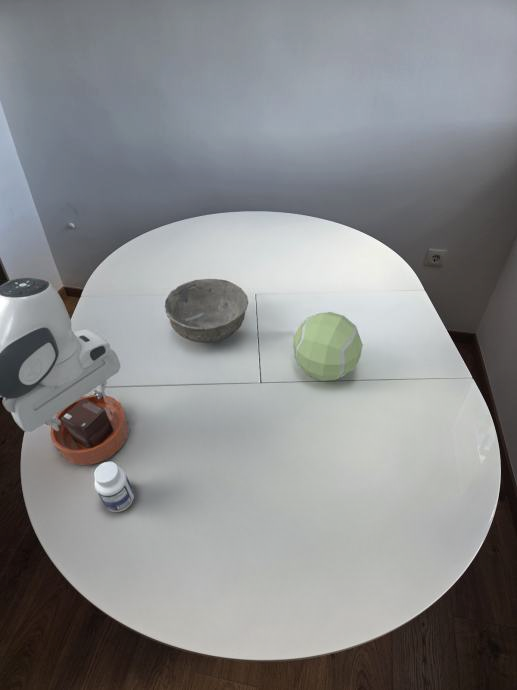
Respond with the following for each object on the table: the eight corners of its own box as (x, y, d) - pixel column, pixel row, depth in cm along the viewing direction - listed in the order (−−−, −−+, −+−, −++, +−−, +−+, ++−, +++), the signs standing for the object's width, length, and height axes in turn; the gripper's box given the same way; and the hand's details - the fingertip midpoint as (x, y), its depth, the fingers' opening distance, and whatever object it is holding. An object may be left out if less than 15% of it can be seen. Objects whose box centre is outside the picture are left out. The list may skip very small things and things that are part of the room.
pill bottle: (109, 485, 82) (95, 457, 75) (137, 485, 81) (126, 457, 75) (100, 512, 78) (85, 485, 71) (130, 513, 78) (117, 486, 71)
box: (114, 430, 90) (105, 408, 85) (93, 452, 86) (82, 430, 81) (94, 418, 92) (84, 396, 87) (72, 439, 88) (60, 417, 83)
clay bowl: (85, 480, 82) (77, 466, 79) (45, 441, 89) (36, 426, 86) (143, 431, 90) (138, 417, 87) (102, 399, 97) (96, 384, 94)
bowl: (262, 319, 116) (262, 289, 110) (223, 369, 103) (221, 338, 96) (198, 298, 123) (194, 269, 117) (154, 342, 110) (146, 312, 103)
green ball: (282, 379, 100) (284, 331, 90) (306, 340, 110) (310, 293, 100) (344, 401, 96) (353, 353, 85) (363, 358, 105) (373, 310, 95)
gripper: (8, 406, 67) (39, 456, 76) (116, 338, 78) (131, 389, 88) (-12, 387, 70) (21, 438, 79) (95, 324, 81) (112, 374, 91)
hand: (80, 411), depth 83 cm, fingers open, 8 cm apart
